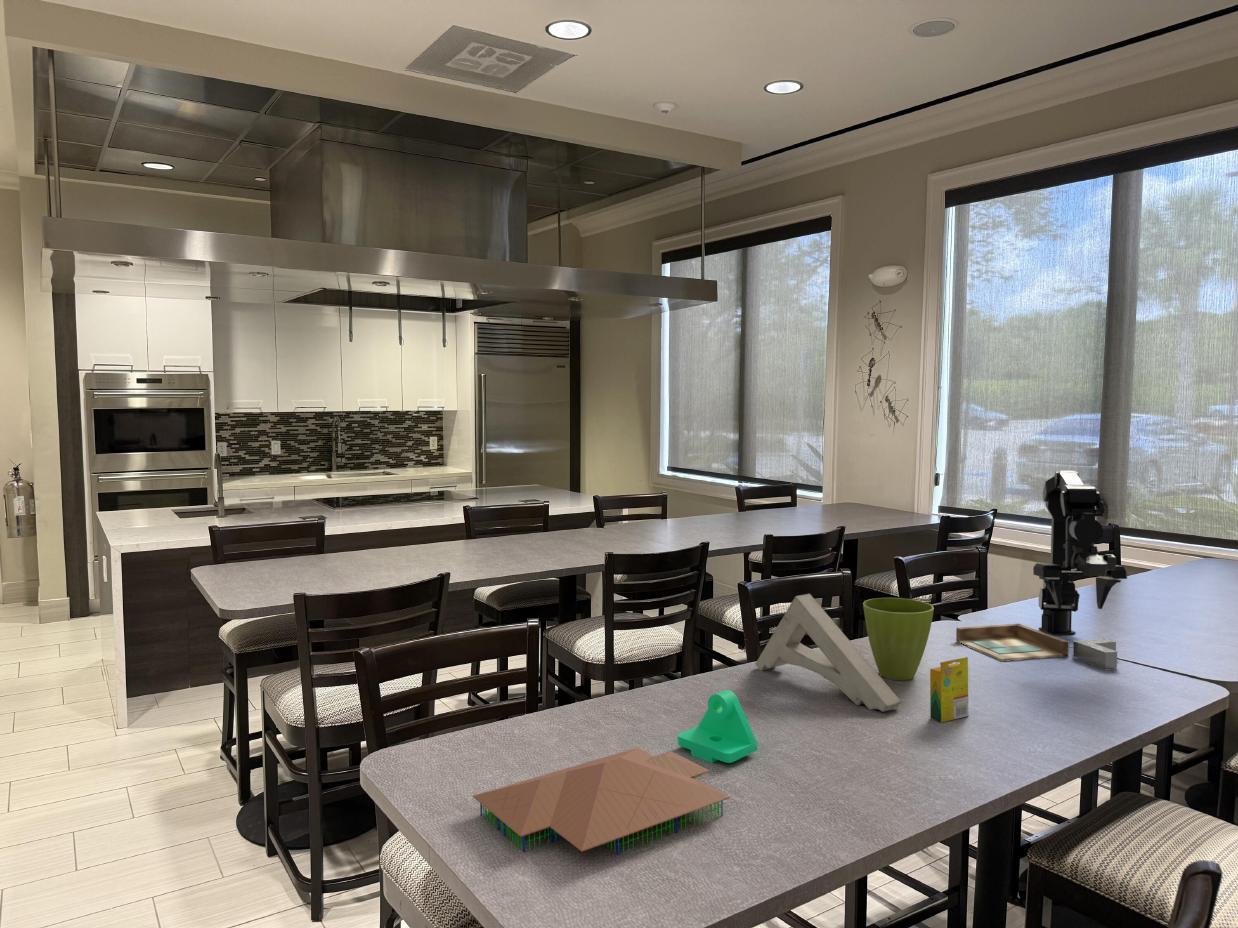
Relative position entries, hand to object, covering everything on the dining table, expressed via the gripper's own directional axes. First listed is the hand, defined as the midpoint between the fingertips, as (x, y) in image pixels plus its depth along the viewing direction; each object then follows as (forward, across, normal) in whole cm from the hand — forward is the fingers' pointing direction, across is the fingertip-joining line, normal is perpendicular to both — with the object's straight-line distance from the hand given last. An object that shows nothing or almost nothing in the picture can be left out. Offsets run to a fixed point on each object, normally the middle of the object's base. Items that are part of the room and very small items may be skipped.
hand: (1079, 608), depth 193 cm
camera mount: (+18, -87, -51) cm, 103 cm away
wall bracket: (+16, -62, -16) cm, 66 cm away
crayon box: (+16, -41, -34) cm, 55 cm away
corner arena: (+12, -10, +14) cm, 21 cm away
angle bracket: (+13, +8, +3) cm, 15 cm away
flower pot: (+15, -43, -8) cm, 46 cm away
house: (+20, -104, -74) cm, 129 cm away
